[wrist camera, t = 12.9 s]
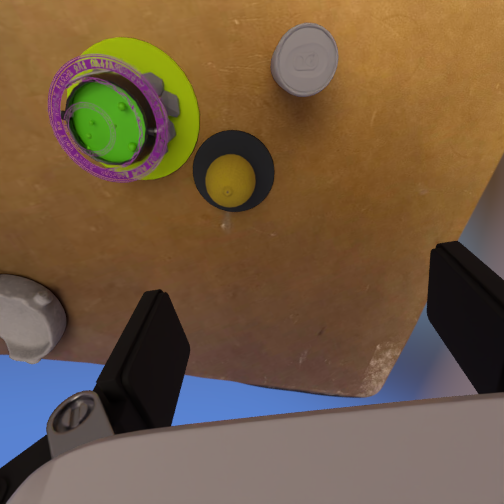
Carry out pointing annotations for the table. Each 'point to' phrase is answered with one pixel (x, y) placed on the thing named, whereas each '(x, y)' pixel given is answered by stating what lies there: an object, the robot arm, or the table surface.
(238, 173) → the lemon
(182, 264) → the table surface
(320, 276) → the table surface
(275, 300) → the table surface
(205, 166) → the disc
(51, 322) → the dish
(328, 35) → the beverage can
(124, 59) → the toy cauldron
